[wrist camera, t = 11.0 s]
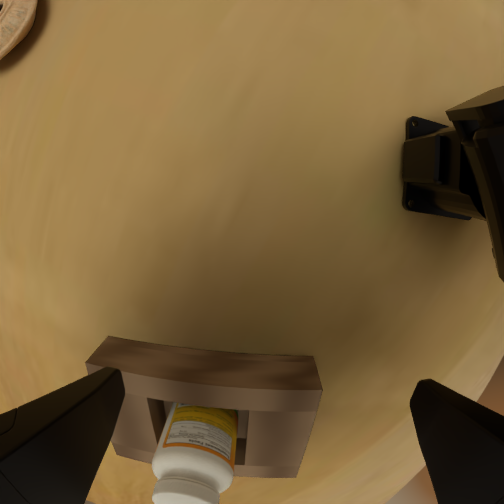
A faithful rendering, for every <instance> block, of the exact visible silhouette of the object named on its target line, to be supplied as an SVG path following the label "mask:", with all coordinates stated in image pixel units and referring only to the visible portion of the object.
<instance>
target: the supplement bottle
mask: <svg viewBox="0 0 504 504" xmlns="http://www.w3.org/2000/svg"><path fill="white" fill-rule="evenodd" d="M237 429H238V410H236V409H224V408H214V407H205V406H197V405H189V404H182V403H176V402H173V403H172V406H171V409H170V412H169V414H168V417H167V420H166V423H165V426H164V428H163V431H162V434H161V437H160V440H159V442H158V445H157V448H156V451H155V454H154V457H153V460H152V469H153V472H154V474H155V476H156V477H157V478H158V479H159V480H158V481H157V483H156V484H155V488H154V492H153V495H152V500H153V502H154V503H155V504H219V497H220V495H219V493H221V492H223V491H225V490H226V489H227V488H228V487H229V486H230V485H231V483H232V480H233V474H234V462H235V451H236V439H237Z"/></svg>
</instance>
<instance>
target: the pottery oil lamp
mask: <svg viewBox="0 0 504 504" xmlns="http://www.w3.org/2000/svg"><path fill="white" fill-rule="evenodd" d="M37 1H38V0H0V60H1V59H2V58H3V57H4V56H5V55H6V54H8V53H9V52H10V51H11V50H12V49H13V48H14V47H15V46H16V45H17V44H18V43H19V42H21V41H22V40H23V39H24V38H25V37H26V35H27V34H28V32H29V31H30V29H31V27H32V25H33V23H34V20H35V15H36V12H35V10H36V7H37Z"/></svg>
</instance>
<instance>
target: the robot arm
mask: <svg viewBox="0 0 504 504" xmlns="http://www.w3.org/2000/svg"><path fill="white" fill-rule="evenodd" d="M445 112H446V114H447V116H448V118H449V120H450V121H452V122H453V125H454V126H453V127H448V126H445V125H442V124H439V123H436V122H433V121H429V120H426V119H423V118H419V117H416V116H412V117H410V118H408V119H407V123H406V141H405V142H404V162H403V179H404V191H403V201H402V203H403V207H404V208H405V209H406V210H409V211H414V212H421V213H427V214H434V215H440V216H446V217H452V218H458V219H464V220H470V219H471V218H472V217H473V218H477V219H481V220H485V221H487V224H488V228H489V232H490V237H491V242H492V246H493V248H492V252H493V257H494V258H495V263H496V268H497V271H498V274H499V277H500V278H501V280H502V281H503V282H504V86H502V87H498V88H495V89H492V90H490V91H487V92H485V93H483V94H481V95H479V96H476V97H474V98H472V99H470V100H468V101H466V102H464V103H461V104H459V105H457V106H455V107H453V108H451V109H449V110H447V111H445ZM412 121H414V122H415V124H416V126H413V124H412ZM409 200H411V202H412V204H411V206H410V207H409V205H408V202H409ZM124 397H125V387H124V382H123V378H122V373H121V371H120V369H118V368H115V367H110V366H106V367H104V368H102V369H100V370H98V371H96V372H94V373H92V374H89V375H87V376H85V377H83V378H81V379H79V380H77V381H75V382H73V383H70V384H68V385H66V386H64V387H62V388H60V389H57V390H55V391H53V392H51V393H49V394H46V395H44V396H42V397H40V398H38V399H35V400H33V401H31V402H28V403H26V404H24V405H22V406H19V407H18V409H17V408H15V409H12V410H10V411H8V412H5V413H3V414H0V504H84V503H85V500H86V498H87V495H88V493H89V490H90V488H91V485H92V483H93V480H94V478H95V476H96V473H97V471H98V468H99V466H100V464H101V461H102V459H103V457H104V454H105V452H106V450H107V448H108V445H109V443H110V441H111V438H112V436H113V433H114V430H115V426H116V423H117V420H118V416H119V413H120V410H121V407H122V404H123V400H124ZM410 409H411V413H412V417H413V421H414V425H415V429H416V433H417V437H418V441H419V445H420V448H421V451H422V454H423V457H424V460H425V462H426V466H427V468H428V471H429V475H430V478H431V481H432V484H433V488H434V491H435V494H436V498H437V501H438V504H504V416H502V415H500V414H498V413H496V412H494V411H492V410H490V409H488V408H486V407H484V406H482V405H480V404H479V403H477V402H475V401H473V400H471V399H469V398H467V397H465V396H463V395H461V394H459V393H457V392H455V391H453V390H451V389H449V388H448V387H446V386H444V385H442V384H440V383H438V382H436V381H434V380H432V379H424V380H420V381H419V382H418V383H417V386H416V388H415V390H414V392H413V395H412V397H411V399H410Z"/></svg>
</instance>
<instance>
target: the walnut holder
mask: <svg viewBox="0 0 504 504" xmlns="http://www.w3.org/2000/svg"><path fill="white" fill-rule="evenodd" d="M85 364H86V367H87V371H88V375H89V374H92V373H94V372H96V371H98V370H100V369H102V368H104V367H106V366H110V367H115V368H118V369H120V371H121V373H122V378H123V382H124V387H125V397H124V400H123V404H122V407H121V410H120V413H119V416H118V420H117V423H116V426H115V430H114V433H113V436H112V438H111V442H112V444H113V447H114V449H115V452H116V454H117V455H119V456H123V457H126V458H130V459H134V460H138V461H142V462H146V463H150V464H152V460H153V457H154V454H155V451H156V448H157V445H158V442H159V440H160V437H161V434H162V431H163V428H164V426H165V423H166V420H167V417H168V414H169V412H170V409H171V406H172V403H173V402H176V403H182V404H189V405H197V406H205V407H214V408H224V409H236V410H238V429H237V439H236V451H235V462H234V474H233V476H239V477H260V478H296V476H297V473H298V471H299V468H300V465H301V462H302V459H303V456H304V453H305V450H306V446H307V443H308V440H309V437H310V434H311V430H312V427H313V423H314V420H315V417H316V413H317V409H318V406H319V402H320V398H321V395H322V391H323V389H322V386H321V382H320V378H319V375H318V371H317V368H316V364H315V360H314V357H313V356H280V355H259V354H243V353H230V352H218V351H208V350H198V349H189V348H181V347H173V346H165V345H158V344H152V343H145V342H139V341H133V340H127V339H121V338H116V337H110V336H108V337H107V338H106V339H105V340H104V341H103V343H102V344H101V345H100V346H99V347H98V348H97V349H96V351H95V352H94V353H93V354H92V355H91V356H90V358H89V359H88V360H87V361H86V362H85Z"/></svg>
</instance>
